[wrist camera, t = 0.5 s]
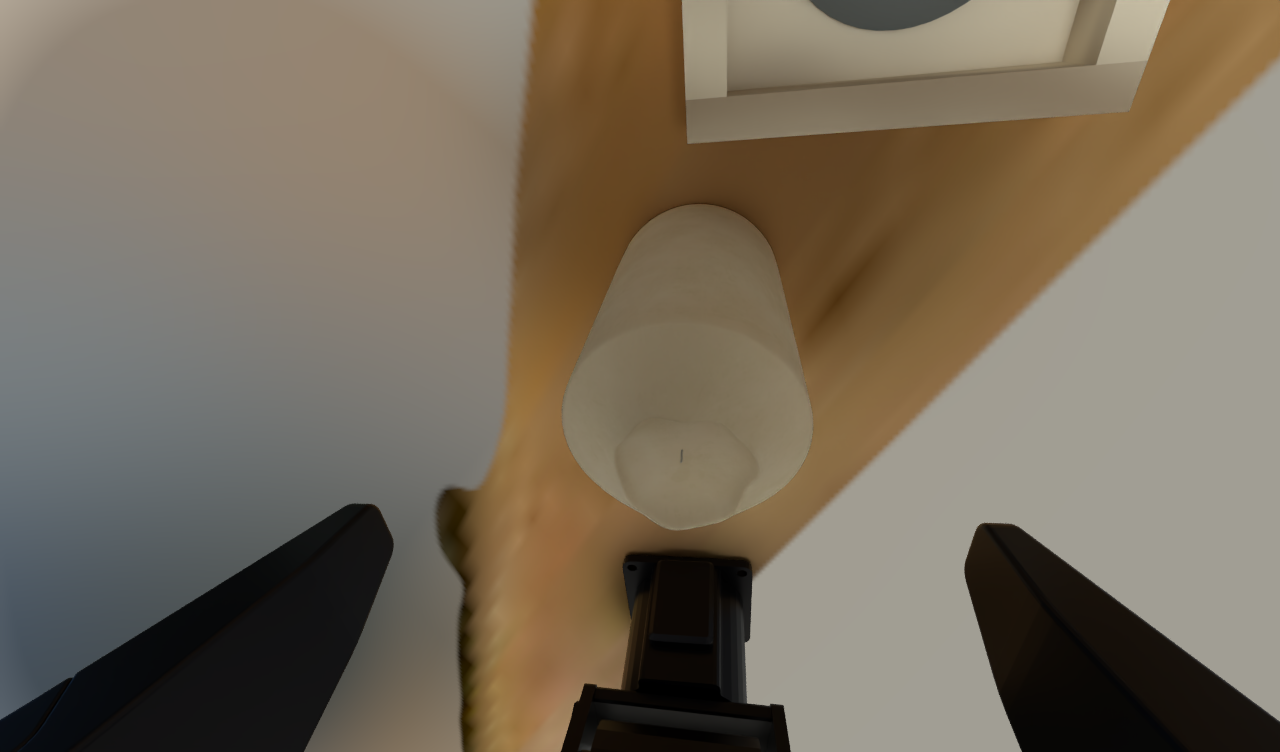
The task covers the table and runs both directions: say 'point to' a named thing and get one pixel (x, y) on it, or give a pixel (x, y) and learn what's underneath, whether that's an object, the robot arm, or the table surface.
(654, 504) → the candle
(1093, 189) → the table surface
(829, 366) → the table surface
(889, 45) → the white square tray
